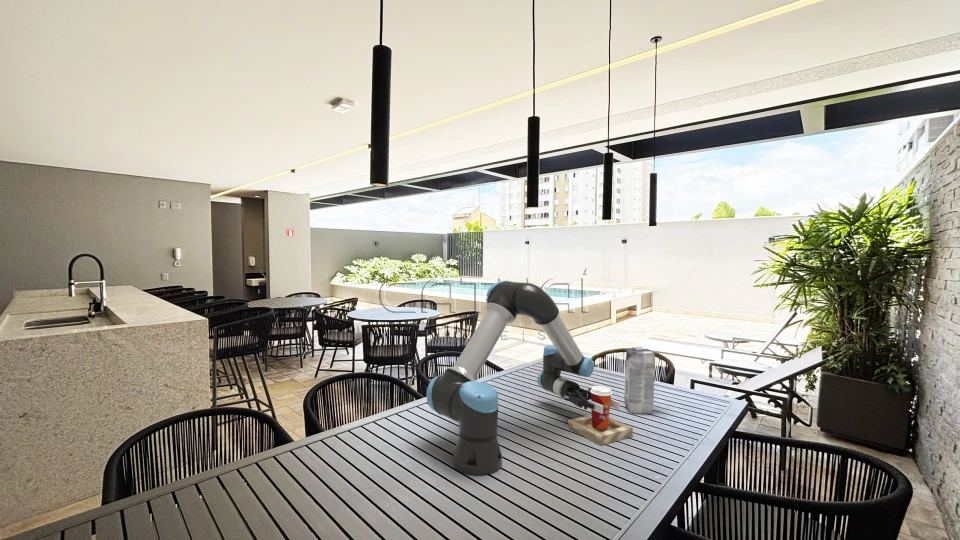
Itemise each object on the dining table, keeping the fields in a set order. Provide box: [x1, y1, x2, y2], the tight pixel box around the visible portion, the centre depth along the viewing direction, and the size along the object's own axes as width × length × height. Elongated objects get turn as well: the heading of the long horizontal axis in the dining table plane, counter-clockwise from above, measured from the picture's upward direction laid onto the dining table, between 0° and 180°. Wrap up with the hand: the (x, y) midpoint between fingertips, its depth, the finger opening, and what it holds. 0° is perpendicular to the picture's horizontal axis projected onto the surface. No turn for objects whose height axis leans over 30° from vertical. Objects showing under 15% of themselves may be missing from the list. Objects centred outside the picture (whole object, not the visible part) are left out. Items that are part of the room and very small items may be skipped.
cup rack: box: [567, 414, 634, 446], centre depth 150 cm, size 16×16×3 cm
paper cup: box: [590, 385, 613, 430], centre depth 150 cm, size 8×8×14 cm
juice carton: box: [623, 345, 656, 415], centre depth 172 cm, size 9×10×27 cm
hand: (610, 407), depth 146 cm, fingers closed on paper cup, 8 cm apart
